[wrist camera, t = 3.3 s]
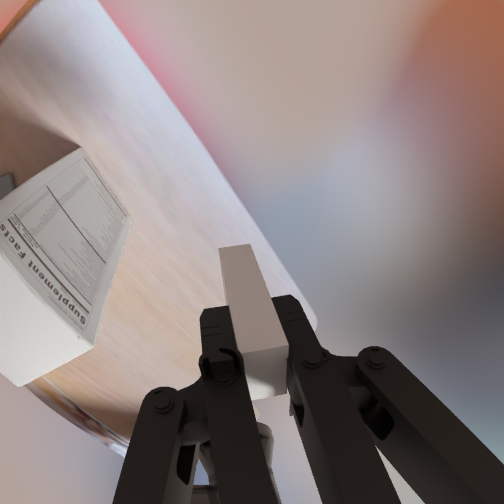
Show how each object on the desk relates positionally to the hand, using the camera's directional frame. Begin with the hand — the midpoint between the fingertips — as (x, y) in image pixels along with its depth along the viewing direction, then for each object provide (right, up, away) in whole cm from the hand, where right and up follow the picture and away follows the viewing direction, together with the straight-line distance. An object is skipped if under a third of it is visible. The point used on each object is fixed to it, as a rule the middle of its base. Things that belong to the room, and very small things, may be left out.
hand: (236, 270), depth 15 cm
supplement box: (-17, +5, +11) cm, 21 cm away
